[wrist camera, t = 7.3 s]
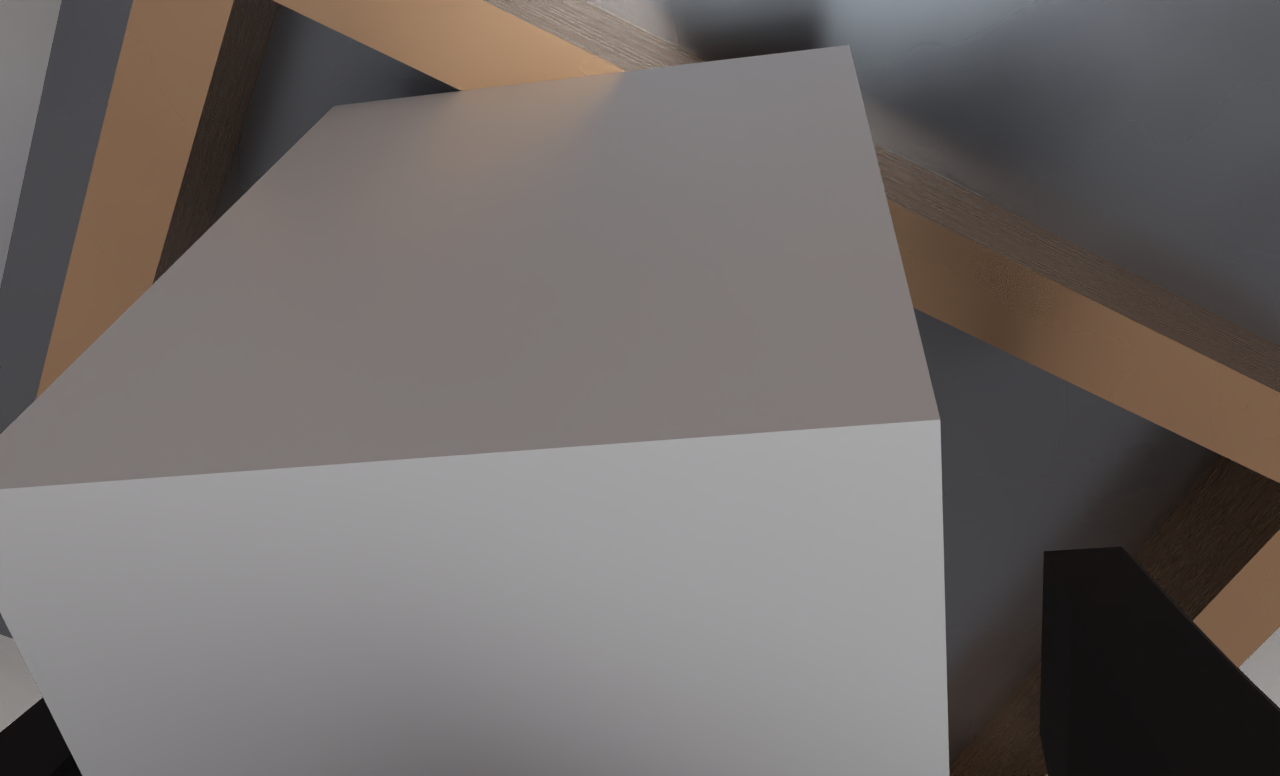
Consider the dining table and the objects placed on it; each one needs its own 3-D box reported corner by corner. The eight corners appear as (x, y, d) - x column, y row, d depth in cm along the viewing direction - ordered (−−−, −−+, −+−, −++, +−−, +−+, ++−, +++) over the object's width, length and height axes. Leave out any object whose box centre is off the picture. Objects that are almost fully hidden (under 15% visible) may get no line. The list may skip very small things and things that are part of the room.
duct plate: (-27, 561, 17) (-140, 687, 15) (238, -588, 10) (102, -657, 8) (904, 928, 19) (922, 1084, 17) (1623, 174, 13) (1801, 275, 10)
